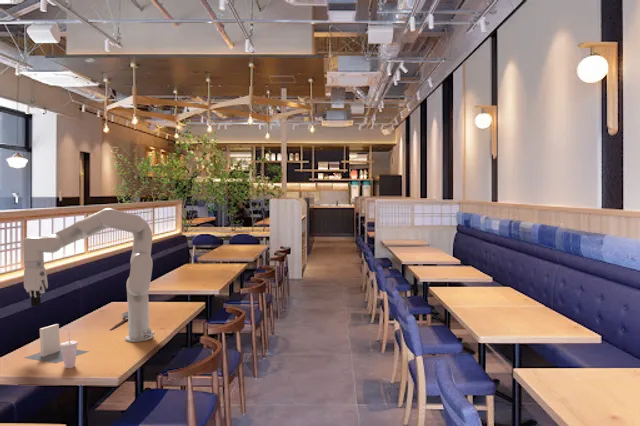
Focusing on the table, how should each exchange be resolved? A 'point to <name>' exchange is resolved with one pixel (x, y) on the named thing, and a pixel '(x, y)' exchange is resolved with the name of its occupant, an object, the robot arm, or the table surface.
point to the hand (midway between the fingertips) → (36, 305)
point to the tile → (49, 340)
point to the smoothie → (69, 352)
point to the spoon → (121, 321)
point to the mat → (52, 356)
